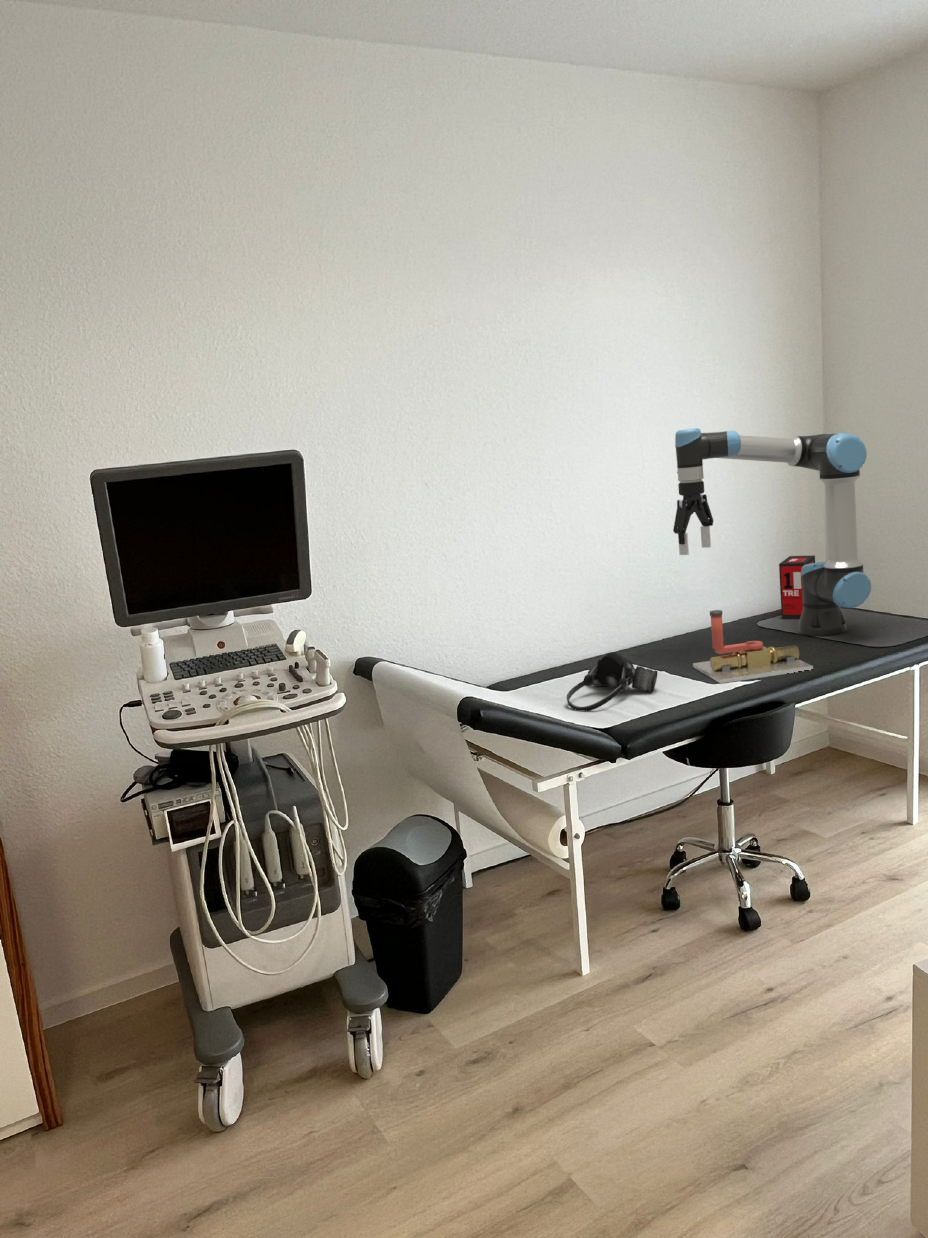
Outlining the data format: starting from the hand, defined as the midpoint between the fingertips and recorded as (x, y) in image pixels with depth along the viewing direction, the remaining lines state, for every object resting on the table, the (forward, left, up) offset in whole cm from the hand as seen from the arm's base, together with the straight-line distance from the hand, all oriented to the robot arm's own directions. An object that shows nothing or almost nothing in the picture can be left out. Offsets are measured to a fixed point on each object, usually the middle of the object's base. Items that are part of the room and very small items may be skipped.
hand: (695, 551), depth 297 cm
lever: (-5, +16, -28) cm, 33 cm away
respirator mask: (+38, +23, -35) cm, 57 cm away
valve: (-9, +15, -35) cm, 39 cm away
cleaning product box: (-54, -44, -35) cm, 78 cm away
